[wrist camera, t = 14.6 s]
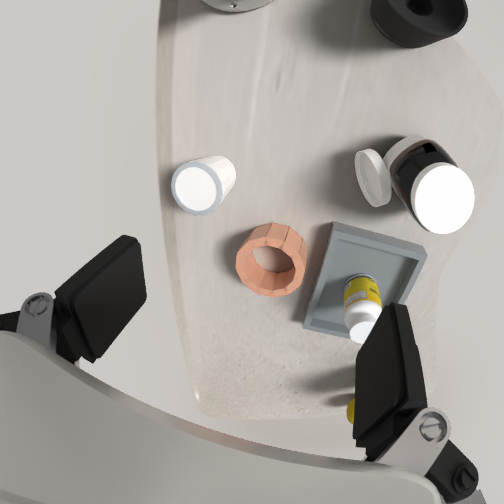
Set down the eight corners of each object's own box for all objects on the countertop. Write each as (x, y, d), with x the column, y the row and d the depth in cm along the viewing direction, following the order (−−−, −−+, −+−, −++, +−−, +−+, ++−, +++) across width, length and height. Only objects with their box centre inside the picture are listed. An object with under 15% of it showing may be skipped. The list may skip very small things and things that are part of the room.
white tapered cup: (214, 206, 41) (194, 226, 35) (185, 170, 39) (160, 184, 33) (250, 180, 37) (234, 196, 31) (219, 141, 36) (197, 149, 30)
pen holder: (363, -15, 19) (372, -49, 11) (431, -1, 17) (458, -26, 9) (370, 44, 24) (385, 23, 16) (439, 58, 22) (473, 47, 13)
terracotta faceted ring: (248, 217, 40) (239, 230, 36) (313, 232, 39) (311, 247, 35) (242, 270, 45) (233, 287, 41) (299, 285, 44) (295, 303, 40)
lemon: (361, 387, 53) (360, 417, 46) (375, 395, 53) (375, 425, 47) (342, 396, 56) (340, 425, 49) (357, 404, 56) (355, 432, 50)
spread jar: (451, 186, 30) (491, 220, 20) (390, 230, 35) (408, 278, 26) (404, 110, 27) (438, 114, 17) (338, 161, 33) (343, 186, 23)
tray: (333, 221, 37) (333, 230, 35) (422, 246, 35) (427, 255, 33) (304, 316, 47) (302, 328, 44) (378, 333, 44) (379, 344, 42)
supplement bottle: (382, 295, 40) (388, 341, 31) (350, 305, 42) (350, 351, 34) (372, 267, 38) (379, 312, 30) (338, 279, 40) (337, 325, 32)
